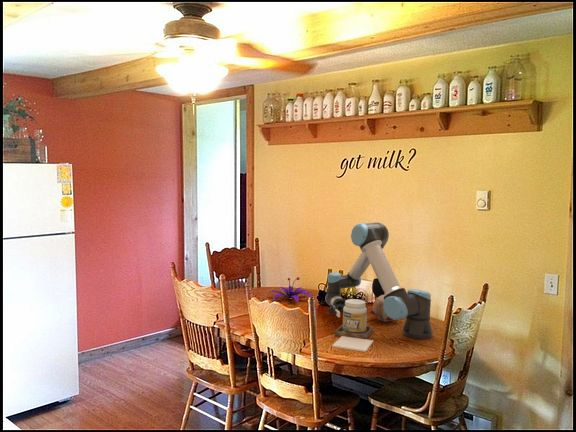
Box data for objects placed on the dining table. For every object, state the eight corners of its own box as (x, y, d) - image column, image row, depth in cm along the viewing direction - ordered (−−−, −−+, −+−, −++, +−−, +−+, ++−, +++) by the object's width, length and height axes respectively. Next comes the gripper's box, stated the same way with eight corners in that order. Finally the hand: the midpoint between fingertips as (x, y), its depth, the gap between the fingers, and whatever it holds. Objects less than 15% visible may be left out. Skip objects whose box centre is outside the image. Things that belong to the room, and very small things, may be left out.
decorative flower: (305, 307, 319) (306, 283, 318) (259, 301, 330) (260, 278, 329) (319, 297, 345) (320, 275, 344) (276, 292, 356) (276, 271, 355)
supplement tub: (340, 336, 262) (341, 303, 261) (344, 329, 274) (345, 297, 273) (364, 338, 259) (365, 305, 258) (367, 331, 271) (368, 299, 270)
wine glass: (367, 312, 310) (368, 279, 309) (378, 309, 317) (379, 277, 316) (381, 315, 302) (382, 282, 301) (392, 313, 309) (393, 280, 308)
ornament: (397, 326, 282) (398, 299, 281) (370, 323, 287) (371, 296, 286) (401, 319, 296) (402, 293, 295) (374, 316, 301) (375, 291, 300)
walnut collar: (373, 331, 271) (373, 326, 271) (365, 340, 256) (365, 335, 256) (343, 327, 277) (343, 323, 277) (334, 335, 262) (334, 331, 262)
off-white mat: (373, 342, 254) (373, 340, 254) (365, 351, 239) (365, 350, 239) (341, 337, 260) (341, 336, 260) (332, 347, 245) (332, 345, 245)
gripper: (360, 310, 292) (374, 320, 272) (317, 311, 287) (328, 322, 266) (360, 297, 292) (374, 306, 271) (317, 298, 286) (329, 308, 266)
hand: (352, 314), depth 269 cm, fingers open, 13 cm apart
